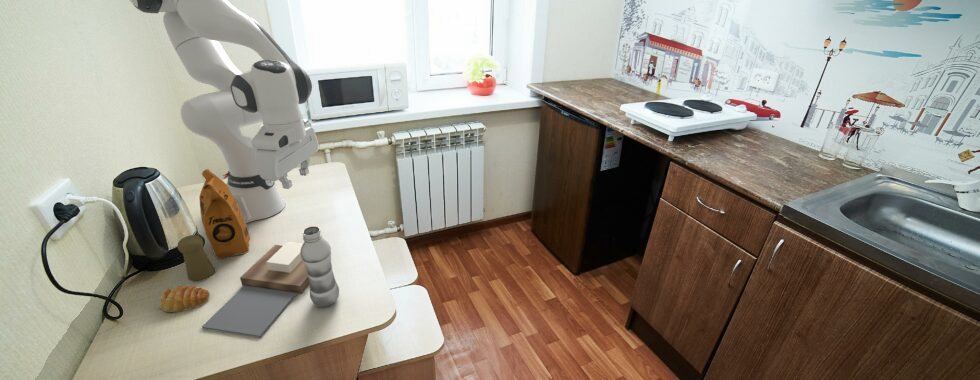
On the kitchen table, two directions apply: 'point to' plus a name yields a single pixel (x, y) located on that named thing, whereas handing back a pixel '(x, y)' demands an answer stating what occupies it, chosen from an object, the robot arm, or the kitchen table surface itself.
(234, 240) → the coffee package
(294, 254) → the tile
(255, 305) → the mat
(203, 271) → the cork
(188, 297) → the pastry
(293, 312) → the kitchen table surface
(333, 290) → the plastic bottle
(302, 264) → the stand
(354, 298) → the kitchen table surface
